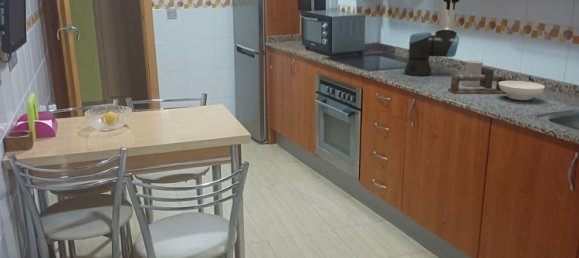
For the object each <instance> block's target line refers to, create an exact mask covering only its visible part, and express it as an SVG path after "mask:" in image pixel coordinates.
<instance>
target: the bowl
mask: <svg viewBox="0 0 579 258" xmlns="http://www.w3.org/2000/svg"><path fill="white" fill-rule="evenodd" d="M498 84H499V87H500V89H501V90H502V91H505V92H506V95H507V98H508V99H512V100H518V101H529V100H532V99H533V98H534V97H535V96H536V95H539V94H541V93H542V92H543V91H544V90H545V88H546V87H545V85H543V84H541V83H536V82H531V81H524V80H523V81H522V80H506V81H501V82H499V83H498Z"/></svg>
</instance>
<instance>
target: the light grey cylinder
mask: <svg viewBox="0 0 579 258" xmlns="http://www.w3.org/2000/svg"><path fill="white" fill-rule="evenodd" d="M464 67H465V68H464V75H481V68H482V67H483V61H480V60H479V61H478V60H466V61H465V65H464ZM462 85H463V86H464V87H465V86H467V87H474V88H475V87H476V88H477V87H481V86H480V81H463V84H462Z"/></svg>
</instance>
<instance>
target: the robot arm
mask: <svg viewBox="0 0 579 258" xmlns="http://www.w3.org/2000/svg"><path fill="white" fill-rule="evenodd" d="M459 2H460V0H440V1H439V3H440V5H439V15H438V17H439V18H438V27H437V29H438V30H437V31H435V35H434V34H432V32H431V31H430V32H429V31H428V32H426V31H425V32H417V33H413V34H411V35H410V36H409V42H408V44H409V45H408V55H407V57H408V58H407V62H406V65H405V67H404V68H403V70H404V71H403V73H404V74H405V75H407V76H415V77H428V76H431V75H432V67H431V64H430V57H438V58H439V57H441V58H442V57H443V58H454V57H455V56H456V54H457V51H458V45H459V40H460V36H459V35H457V34H458V33H457V31H456V30H455V25H456V23H455V22H456V7H457V3H459Z"/></svg>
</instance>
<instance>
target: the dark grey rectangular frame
mask: <svg viewBox="0 0 579 258" xmlns="http://www.w3.org/2000/svg"><path fill="white" fill-rule="evenodd" d="M494 72H495V69H493V68H490V67H487V66H486V67H485V66H482V68H481V75H484V74H487V76H486V81H480V86H479V87H482V88H486V89H492V88H493V82H494V81H493V75H494Z"/></svg>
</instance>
